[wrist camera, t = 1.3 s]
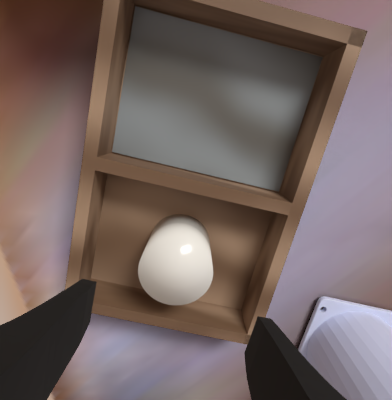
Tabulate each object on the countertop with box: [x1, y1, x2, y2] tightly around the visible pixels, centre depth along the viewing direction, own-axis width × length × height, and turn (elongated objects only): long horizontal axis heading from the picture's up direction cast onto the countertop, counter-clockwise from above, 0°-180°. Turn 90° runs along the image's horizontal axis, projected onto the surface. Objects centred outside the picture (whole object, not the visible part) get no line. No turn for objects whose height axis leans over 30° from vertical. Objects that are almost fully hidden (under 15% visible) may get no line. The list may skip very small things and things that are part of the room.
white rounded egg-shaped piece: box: [138, 214, 213, 305], centre depth 18 cm, size 4×4×4 cm
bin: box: [65, 0, 367, 344], centre depth 18 cm, size 20×14×4 cm, turn 166°
